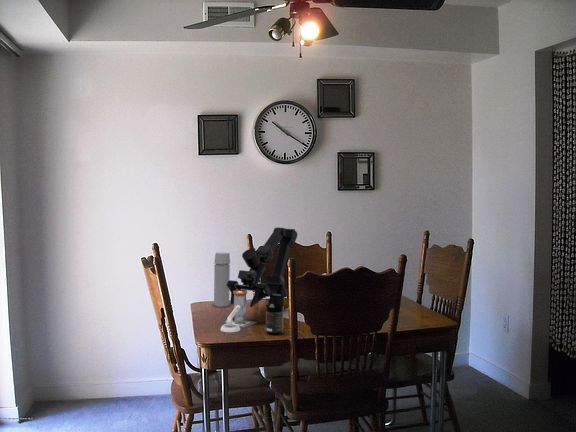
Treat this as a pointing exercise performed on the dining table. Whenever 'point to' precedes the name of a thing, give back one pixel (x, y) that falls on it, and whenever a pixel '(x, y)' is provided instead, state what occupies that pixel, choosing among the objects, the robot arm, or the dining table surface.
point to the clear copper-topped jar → (241, 301)
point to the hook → (231, 322)
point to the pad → (248, 323)
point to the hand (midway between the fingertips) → (240, 305)
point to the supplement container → (274, 319)
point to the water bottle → (221, 279)
